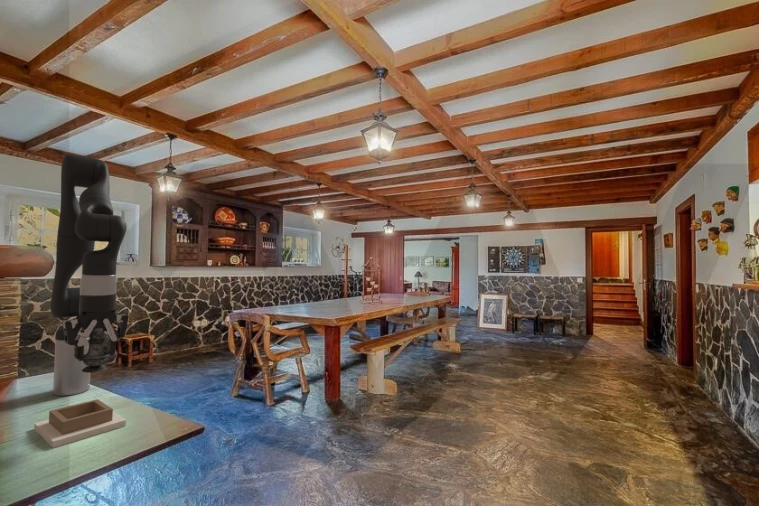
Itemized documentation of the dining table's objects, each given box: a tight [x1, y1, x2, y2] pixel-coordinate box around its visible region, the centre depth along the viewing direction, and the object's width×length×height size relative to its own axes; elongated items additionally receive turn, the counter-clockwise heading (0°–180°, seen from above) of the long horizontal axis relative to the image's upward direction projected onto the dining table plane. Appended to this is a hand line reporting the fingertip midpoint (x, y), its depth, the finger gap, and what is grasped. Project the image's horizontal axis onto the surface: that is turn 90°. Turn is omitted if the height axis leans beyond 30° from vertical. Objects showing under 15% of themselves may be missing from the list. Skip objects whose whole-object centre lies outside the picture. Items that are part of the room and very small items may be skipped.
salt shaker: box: [82, 328, 110, 374], centre depth 97 cm, size 6×6×12 cm
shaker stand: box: [33, 398, 127, 449], centre depth 98 cm, size 15×15×4 cm
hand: (95, 357), depth 97 cm, fingers closed on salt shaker, 6 cm apart
